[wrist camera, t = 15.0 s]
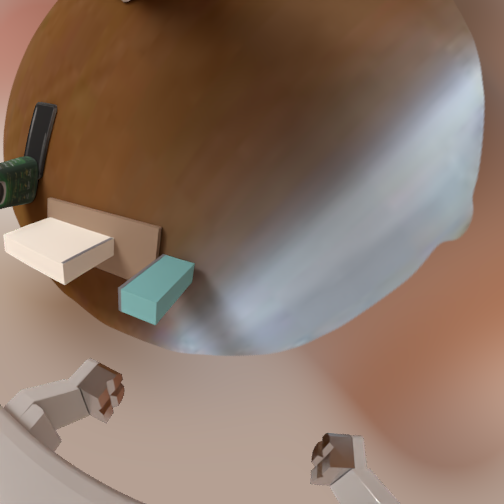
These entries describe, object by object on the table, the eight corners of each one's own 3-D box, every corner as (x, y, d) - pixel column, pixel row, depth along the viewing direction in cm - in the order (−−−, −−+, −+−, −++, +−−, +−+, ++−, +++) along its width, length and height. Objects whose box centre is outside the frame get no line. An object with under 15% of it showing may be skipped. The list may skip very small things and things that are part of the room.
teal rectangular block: (161, 272, 39) (118, 310, 28) (163, 253, 38) (118, 287, 27) (191, 282, 39) (155, 325, 28) (194, 263, 38) (156, 302, 27)
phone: (21, 171, 39) (36, 101, 34) (25, 170, 40) (40, 102, 35) (39, 180, 39) (55, 104, 34) (43, 179, 40) (59, 105, 35)
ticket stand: (51, 245, 44) (5, 268, 32) (51, 197, 40) (-1, 212, 28) (156, 286, 42) (111, 329, 30) (161, 227, 38) (108, 256, 26)
